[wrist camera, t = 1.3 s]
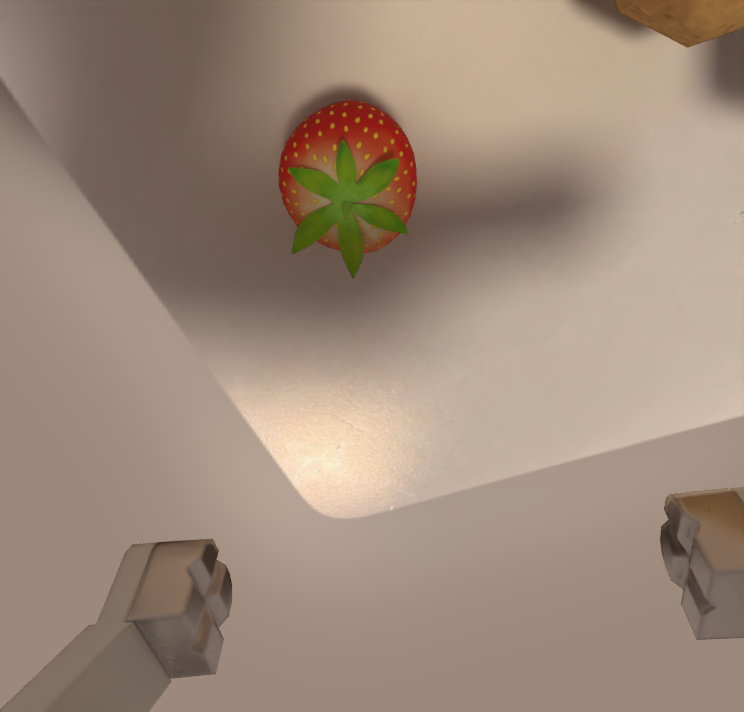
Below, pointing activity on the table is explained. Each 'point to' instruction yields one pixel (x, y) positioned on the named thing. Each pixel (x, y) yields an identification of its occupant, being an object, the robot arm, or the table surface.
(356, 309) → the table surface
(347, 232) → the fruit
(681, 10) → the potato
